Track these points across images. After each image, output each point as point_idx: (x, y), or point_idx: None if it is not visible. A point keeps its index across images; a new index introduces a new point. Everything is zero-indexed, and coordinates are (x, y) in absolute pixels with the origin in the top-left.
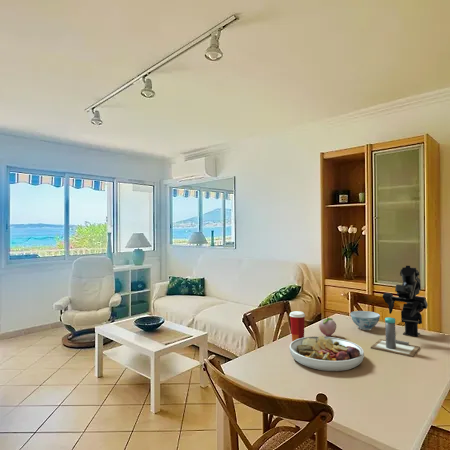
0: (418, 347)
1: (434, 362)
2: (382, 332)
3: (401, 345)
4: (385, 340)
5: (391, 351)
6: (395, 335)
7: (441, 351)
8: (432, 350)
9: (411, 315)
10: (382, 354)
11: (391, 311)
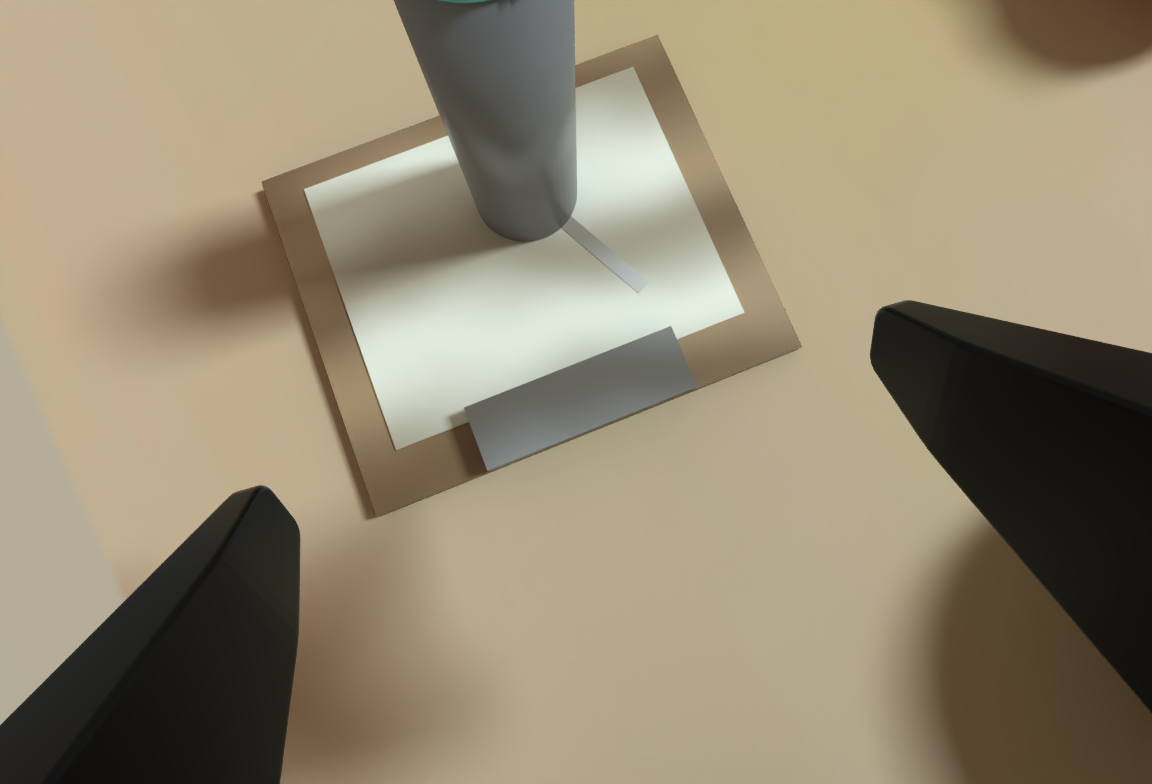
0: (366, 471)
1: (73, 244)
2: (1030, 668)
3: (508, 354)
4: (731, 355)
5: None
6: (445, 127)
7: None
8: None
9: (220, 516)
10: None
11: (934, 420)
